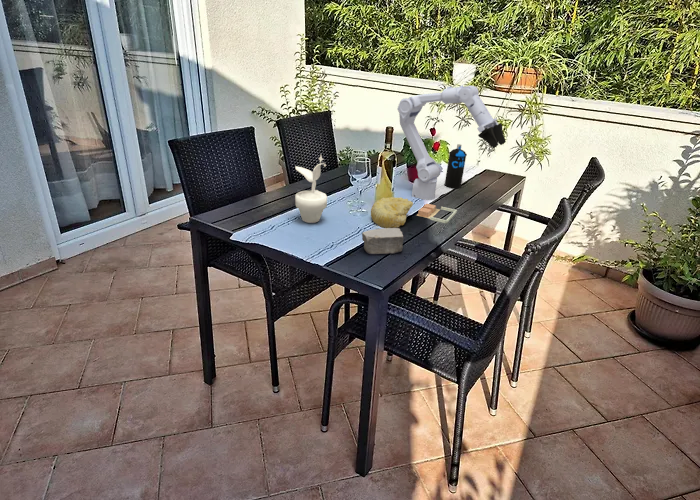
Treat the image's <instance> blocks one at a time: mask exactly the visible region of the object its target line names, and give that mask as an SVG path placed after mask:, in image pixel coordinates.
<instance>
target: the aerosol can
mask: <svg viewBox="0 0 700 500" xmlns="http://www.w3.org/2000/svg"><path fill="white" fill-rule="evenodd" d="M466 159H467V153H466V151H465V150H463V149H462V144H461V143H457V145H456V148H454V149H452V150H451V151H449V152H448V162H447V168H446V174H445V180H444V183H443V186H444V187H445V186H446V188H449V189H454V190H457V189H461V188H462V183H463V176H464V170H465V165H466Z"/></svg>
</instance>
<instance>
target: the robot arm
mask: <svg viewBox="0 0 700 500" xmlns="http://www.w3.org/2000/svg"><path fill="white" fill-rule="evenodd" d="M435 102H442V103H444V104H445V105H448V104H449V105H450V104H459V103H462V104H464V105H465V106H466V108H467V110H468V111H469V113H470V114H471V116H472V118H473V120H474V121H475V123H476V125H477V130H478V132H479V134H478V135H477V136H478V137H479V138H481V139H482V140H484V141H485V142H486V143H487V144H488V145H489V146H490V147H491V148H492V149H495V148H496V147H497V146H499V145H500V146H502V145H504V144H505V143H507V141H506V138H505V135H504V130H503V123H501V122H500V123H498V122H497V120H498V118H497V117H495V118H493V116H492V115H491V113H490V111H489V110H488V107H486V105H485V103H484V102H483V100H482V99H481V97H480V95H479V89H478V88H477V87H476V86H474V85H471V84H470V85H466V86H465V85H463V84H462V85H459V86H458V87H457V86H456V87H452V86H451V85H450V86H447V88H444V89H443V90H442V91H441V92H432V93H431V92H430V93H422V94H417V95H413V96H409V97H408V98H407V97H405V98H402V99H401V100H400V101H399V103H398V106H397V111H398V115H399V116H398V117H399V125H400V128H401V130H402V131H403V134H404V136H405V138H406V141H407V142H408V144H409V147H410V149H411V151H412V153H413V155H414V157H415V159H416V161H417V163H416V166H415V167H416V168H415V169H416V170H417V176H418V178H415V180H413V184H412V190H411V197H412V198H417V199H420V200H422V201H423V200H424V201H433V200H435V197H436V188H437V182H438V177H439V176H440V175H441V174H442V170H441V166H439V164H438V163H437V162H436V161H435V158H433V157H431V156H430V154H429V153H428V150H427V148H426V146H425V144H424V142H423V140H422V137H421V135H420V133H419V131H418V129H417V127H416V124H415V120H416V117H417V116H418V114H419V113H420V112H421V111H422V109H423V107H425V106H426V104H428V103H435Z"/></svg>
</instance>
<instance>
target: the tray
mask: <svg viewBox="0 0 700 500" xmlns="http://www.w3.org/2000/svg"><path fill="white" fill-rule="evenodd" d="M440 210H441V211H442V210H443V211H446V212H452V213H451V214H450V215H449V216H448V217H447V219H442V218H438V217H434V216H433V217H430V219H429V221H434V222H438V223H443V224H445V225H446V224H448V223H449V221H451V220H452V218H453V217H454V216H455V215H456V214H457V212H458V209H455V208H451V207H450V208H449V207H445V206H440Z"/></svg>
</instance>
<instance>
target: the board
mask: <svg viewBox="0 0 700 500" xmlns="http://www.w3.org/2000/svg"><path fill="white" fill-rule="evenodd" d="M440 211H441V208H440V209H439V208H436V209H435V211H434V212H433V213H431V215H430V216H429V217H423V216H419V215H418V213H417V214H416V216H418V217H423V218H427V219H429V220H430V217H434V216H436V215H437V214H438V213H439V212H440Z"/></svg>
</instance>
